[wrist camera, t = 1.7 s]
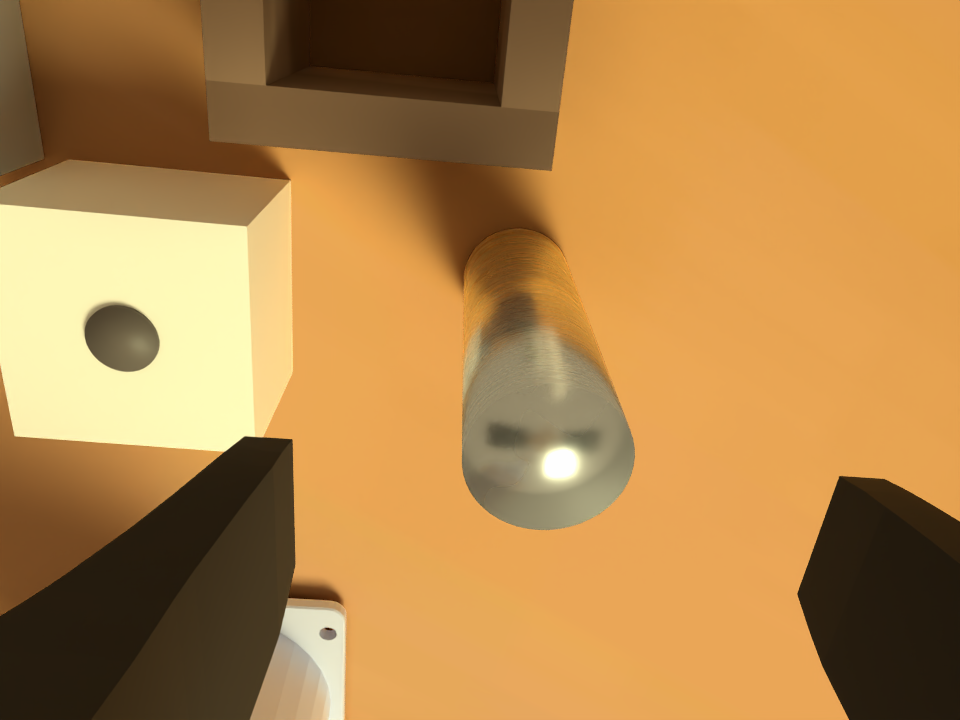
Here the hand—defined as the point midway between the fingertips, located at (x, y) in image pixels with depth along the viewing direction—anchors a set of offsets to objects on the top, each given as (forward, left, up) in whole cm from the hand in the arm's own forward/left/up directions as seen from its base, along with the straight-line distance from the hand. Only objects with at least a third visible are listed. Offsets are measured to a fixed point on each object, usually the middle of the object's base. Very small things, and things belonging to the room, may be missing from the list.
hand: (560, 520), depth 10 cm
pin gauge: (0, 0, -10) cm, 10 cm away
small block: (-1, +8, -10) cm, 13 cm away
